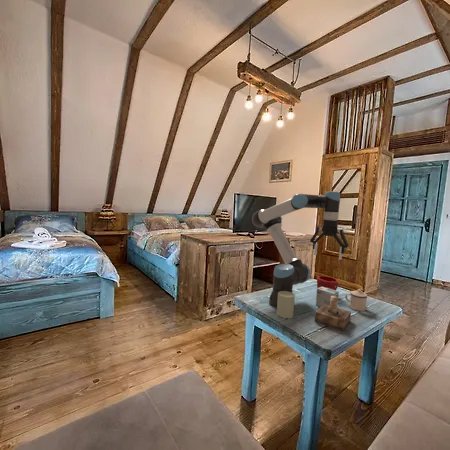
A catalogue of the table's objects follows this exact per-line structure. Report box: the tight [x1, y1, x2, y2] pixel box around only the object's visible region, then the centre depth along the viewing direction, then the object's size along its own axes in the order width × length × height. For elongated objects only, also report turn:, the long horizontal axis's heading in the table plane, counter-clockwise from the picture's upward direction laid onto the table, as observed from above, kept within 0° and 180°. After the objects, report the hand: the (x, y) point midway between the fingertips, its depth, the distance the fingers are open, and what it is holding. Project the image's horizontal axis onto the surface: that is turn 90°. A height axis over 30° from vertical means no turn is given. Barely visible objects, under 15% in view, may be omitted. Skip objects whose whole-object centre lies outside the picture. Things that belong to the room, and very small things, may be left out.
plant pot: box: [316, 275, 339, 291], centre depth 165 cm, size 13×13×12 cm
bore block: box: [314, 304, 352, 331], centre depth 130 cm, size 14×14×5 cm
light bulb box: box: [315, 287, 340, 308], centre depth 147 cm, size 11×7×11 cm, turn 41°
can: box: [275, 291, 296, 319], centre depth 135 cm, size 9×9×12 cm
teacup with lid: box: [344, 288, 368, 312], centre depth 148 cm, size 12×9×12 cm
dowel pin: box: [329, 296, 339, 314], centre depth 129 cm, size 4×4×12 cm
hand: (327, 257), depth 139 cm, fingers open, 13 cm apart
